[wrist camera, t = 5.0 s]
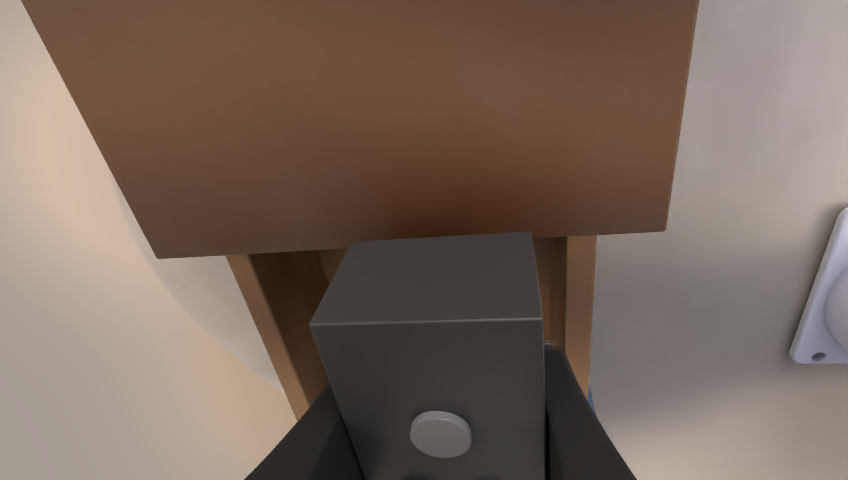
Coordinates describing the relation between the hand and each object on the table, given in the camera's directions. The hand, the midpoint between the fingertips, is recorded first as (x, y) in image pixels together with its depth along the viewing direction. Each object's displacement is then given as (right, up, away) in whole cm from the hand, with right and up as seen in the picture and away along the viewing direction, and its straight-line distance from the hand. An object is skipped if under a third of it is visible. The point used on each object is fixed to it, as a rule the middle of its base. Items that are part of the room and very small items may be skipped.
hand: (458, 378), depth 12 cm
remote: (0, 0, 0) cm, 0 cm away
